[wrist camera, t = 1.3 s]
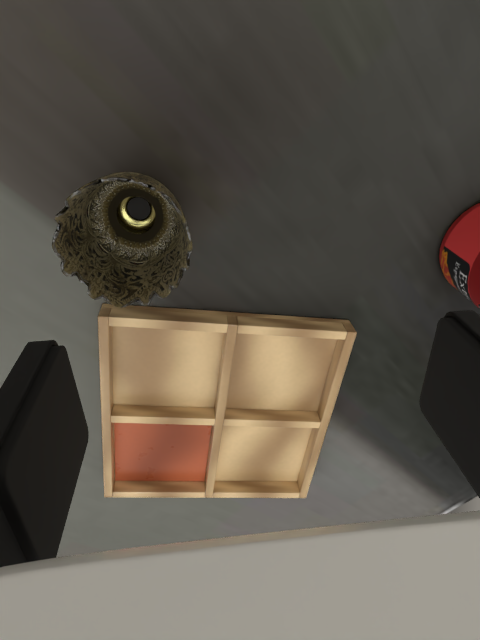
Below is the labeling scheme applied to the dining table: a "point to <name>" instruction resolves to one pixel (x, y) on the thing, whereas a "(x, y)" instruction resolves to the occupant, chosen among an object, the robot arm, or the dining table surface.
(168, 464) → the divided tray
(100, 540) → the dining table surface
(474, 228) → the canned food
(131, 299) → the dark bronze bell shape
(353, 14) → the dining table surface
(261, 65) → the dining table surface
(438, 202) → the dining table surface
